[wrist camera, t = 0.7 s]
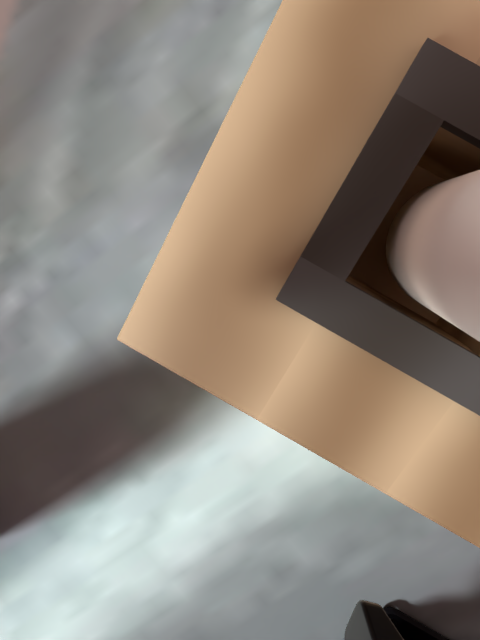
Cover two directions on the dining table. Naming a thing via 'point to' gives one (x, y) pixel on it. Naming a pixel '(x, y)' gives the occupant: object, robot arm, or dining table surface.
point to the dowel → (441, 250)
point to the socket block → (333, 249)
